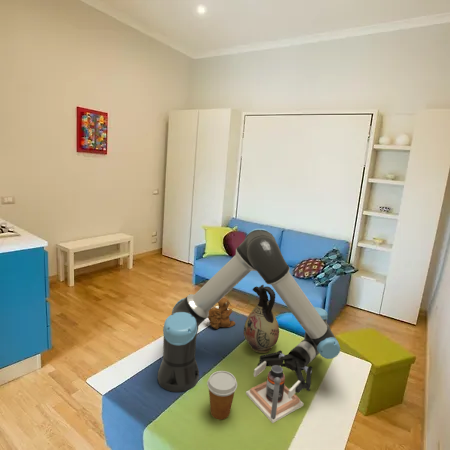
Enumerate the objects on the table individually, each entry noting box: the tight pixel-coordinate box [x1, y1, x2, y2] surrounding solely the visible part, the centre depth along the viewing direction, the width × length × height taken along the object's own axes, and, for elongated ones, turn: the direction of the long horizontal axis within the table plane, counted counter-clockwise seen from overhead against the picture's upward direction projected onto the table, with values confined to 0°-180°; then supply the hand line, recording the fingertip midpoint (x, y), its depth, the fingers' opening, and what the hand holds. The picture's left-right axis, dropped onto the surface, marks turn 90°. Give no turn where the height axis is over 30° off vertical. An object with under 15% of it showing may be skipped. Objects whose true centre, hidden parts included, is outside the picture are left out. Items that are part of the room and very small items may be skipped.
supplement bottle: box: [266, 365, 286, 402], centre depth 105 cm, size 6×6×11 cm
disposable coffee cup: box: [207, 370, 238, 421], centre depth 99 cm, size 10×10×12 cm
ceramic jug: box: [243, 284, 280, 354], centre depth 132 cm, size 17×15×30 cm
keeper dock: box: [245, 377, 305, 424], centre depth 105 cm, size 14×14×16 cm
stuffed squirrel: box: [206, 297, 236, 330], centre depth 150 cm, size 10×14×13 cm
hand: (271, 383), depth 103 cm, fingers open, 13 cm apart
